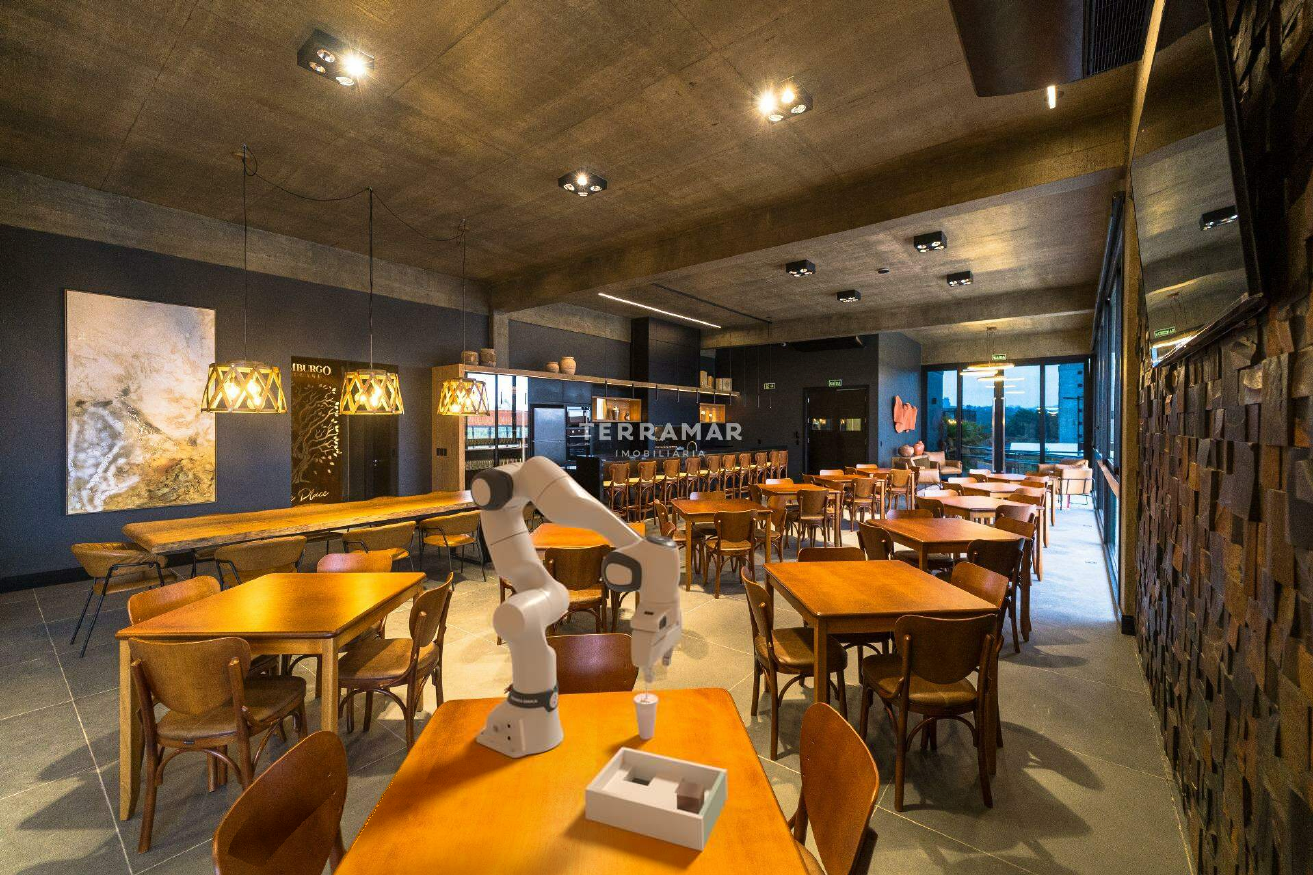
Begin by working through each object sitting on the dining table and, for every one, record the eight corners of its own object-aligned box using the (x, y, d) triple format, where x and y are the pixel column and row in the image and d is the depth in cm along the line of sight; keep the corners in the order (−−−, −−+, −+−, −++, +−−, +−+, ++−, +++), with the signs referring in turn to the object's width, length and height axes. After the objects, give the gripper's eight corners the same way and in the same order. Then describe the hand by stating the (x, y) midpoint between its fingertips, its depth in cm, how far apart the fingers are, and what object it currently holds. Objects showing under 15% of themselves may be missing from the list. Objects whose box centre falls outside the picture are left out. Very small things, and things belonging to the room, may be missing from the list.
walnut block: (677, 817, 112) (676, 794, 112) (682, 803, 116) (682, 781, 116) (699, 821, 110) (699, 798, 110) (704, 807, 115) (704, 784, 115)
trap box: (585, 818, 116) (585, 788, 116) (622, 772, 132) (622, 746, 132) (702, 851, 107) (701, 819, 107) (727, 797, 122) (726, 769, 122)
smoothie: (639, 744, 144) (638, 689, 144) (630, 732, 150) (629, 679, 150) (662, 738, 147) (661, 684, 147) (652, 727, 152) (652, 674, 152)
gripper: (664, 596, 136) (663, 653, 137) (626, 622, 118) (625, 688, 118) (689, 599, 134) (688, 658, 134) (654, 627, 115) (652, 694, 115)
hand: (658, 672), depth 126 cm, fingers open, 8 cm apart
